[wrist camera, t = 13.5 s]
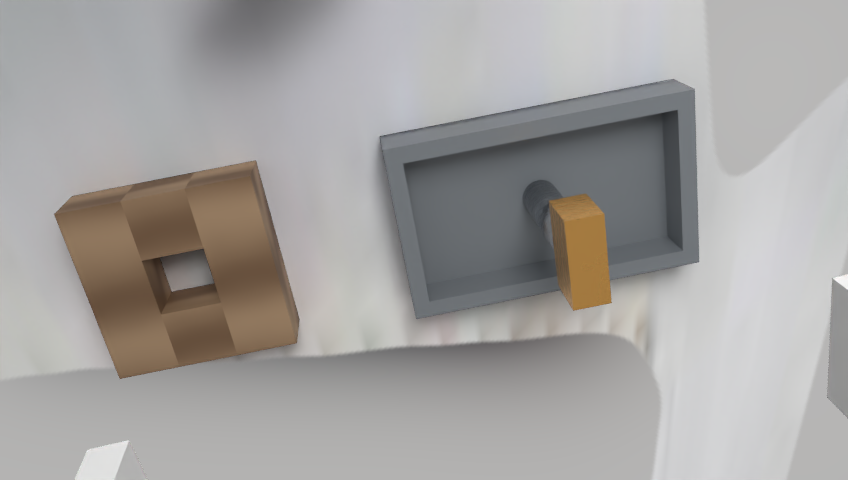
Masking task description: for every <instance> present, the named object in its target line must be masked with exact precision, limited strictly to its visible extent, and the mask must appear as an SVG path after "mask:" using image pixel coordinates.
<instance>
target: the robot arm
mask: <svg viewBox="0 0 848 480" xmlns="http://www.w3.org/2000/svg"><path fill="white" fill-rule="evenodd" d="M829 345H830V346H829V367H828V391H827V392H828V393H827V398H828V399H829V400H830V401H831V402H832V403H833V404H834V405H835V406H836V407H837V408H838V409H839V410H840V411H841V412H842V413H843V414H844V415H845V416H846V417H847V418H848V274H847V275H843V276H839V277H834V278H832V296H831V320H830V344H829ZM74 480H148V479H147V476H146V474H145V472H144V470H143V468H142V466H141V464H140V462H139V460H138V458H137V455H136V453H135V451H134V449H133V447H132V445H131V443H130V441H129V440H127V441H123V442H119V443H115V444H110V445H106V446H101V447H97V448H93V449H88V450H87V452H86V455H85V457H84V459H83V461H82V464H81V466H80V468H79V470H78V472H77V475H76V477H75V479H74Z"/></svg>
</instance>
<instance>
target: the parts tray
mask: <svg viewBox="0 0 848 480" xmlns="http://www.w3.org/2000/svg"><path fill="white" fill-rule="evenodd" d="M380 140H381V146H382V151H383V156H384V161H385V166H386V171H387V176H388V181H389V186H390V191H391V196H392V201H393V206H394V211H395V216H396V221H397V226H398V231H399V236H400V241H401V246H402V251H403V256H404V261H405V265H406V270H407V275H408V280H409V285H410V290H411V295H412V300H413V305H414V310H415V315H416V319H419V318H424V317H429V316H434V315H439V314H444V313H449V312H454V311H459V310H464V309H469V308H474V307H479V306H484V305H489V304H494V303H499V302H504V301H509V300H514V299H518V298H523V297H528V296H533V295H538V294H543V293H548V292H553V291H558V290H561V289H560V287H559V286H558V281H557V272H556V263H555V253H554V250H553V249H552V247H551V246H550V244H549V243H548V241H547V239H546V238H545V236H544V235H543V233H542V232H541V230H540V229H539V227H538V226H537V224H536V222H535V221H534V219H533V218H532V216H531V215H530V213H529V212H528V210H527V209H526V207H525V205H524V203H523V193H524V190H525V189H526V187H527V186H528V185H529V184H530V183H532V182H534V181H537V180H547V181H549V182H551V183H552V184H553V185H554V186H555V187H556V188H557V190H558V191H559V192H560V193H561V195H562V196H563V197H564V198H565V197H570V196H575V195H580V194H587V195H588V196H589V197H590V198H591V200H592V201H593V202H594V203H595V204H596V205H597V206H598V207H599V208H600V209H601V211H602V212H603V213H604V215H605V228H606V241H607V253H608V266H609V279H610V280H613V279H618V278H623V277H628V276H633V275H638V274H643V273H647V272H652V271H657V270H662V269H667V268H672V267H677V266H682V265H687V264H692V263H697V262H699V238H698V200H697V161H696V123H695V89H693V88H691V87H689V86H687V85H685V84H683V83H681V82H678V81H676V80H674V79H671V80H666V81H661V82H656V83H650V84H645V85H640V86H635V87H630V88H625V89H620V90H614V91H609V92H604V93H599V94H594V95H589V96H584V97H579V98H573V99H568V100H563V101H558V102H553V103H548V104H543V105H538V106H532V107H527V108H522V109H517V110H512V111H507V112H502V113H497V114H491V115H486V116H481V117H476V118H471V119H466V120H461V121H456V122H450V123H445V124H440V125H435V126H430V127H425V128H420V129H415V130H409V131H404V132H399V133H394V134H389V135H384V136H380Z"/></svg>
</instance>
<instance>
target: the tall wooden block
mask: <svg viewBox="0 0 848 480" xmlns="http://www.w3.org/2000/svg"><path fill="white" fill-rule="evenodd" d="M523 203H524V205H525V207H526V209H527V210H528V212H529V213H530V215H531V216H532V218H533V219H534V221H535V222H536V224H537V226H538V227H539V229H540V230H541V232H542V233H543V235H544V236H545V238H546V239H547V241H548V243H549V244H550V246H551V247H552V249H553V250H554V253H555V263H556V272H557V281H558V286H559V287H560V289H561V291H562V292H563V294H564V296H565V297H566V299H567V301H568V302H569V304H570V306H571V307H572V309H573V311H574V310H579V309H584V308H589V307H594V306H599V305H604V304H608V303H611V291H610V279H609V266H608V253H607V241H606V228H605V215H604V213H603V212H602V211H601V209H600V208H599V207H598V206H597V205H596V204H595V203H594V202H593V201H592V200H591V198H590V197H589V196H588V195H587V194H580V195H575V196H570V197H565V198H564V197H563V196H562V195H561V193H560V192H559V191H558V190H557V188H556V187H555V186H554V185H553V184H552V183H551V182H549V181H547V180H537V181H534V182H532V183H530V184H529V185H528V186H527V187H526V189H525V190H524V193H523Z"/></svg>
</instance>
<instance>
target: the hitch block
mask: <svg viewBox="0 0 848 480" xmlns="http://www.w3.org/2000/svg"><path fill="white" fill-rule="evenodd" d="M54 215H55V218H56V220H57V223H58V225H59V228H60V230H61V233H62V235H63V238H64V240H65V243H66V245H67V248H68V250H69V253H70V255H71V258H72V260H73V263H74V265H75V268H76V270H77V273H78V275H79V278H80V280H81V283H82V285H83V288H84V290H85V293H86V295H87V298H88V300H89V303H90V305H91V308H92V310H93V313H94V315H95V318H96V320H97V323H98V325H99V328H100V330H101V333H102V335H103V338H104V340H105V343H106V345H107V348H108V350H109V353H110V355H111V358H112V361H113V363H114V366H115V368H116V371H117V373H118V376H119V378H120V379H122V378H126V377H131V376H136V375H141V374H146V373H151V372H156V371H161V370H166V369H171V368H175V367H181V366H186V365H191V364H196V363H201V362H206V361H211V360H216V359H221V358H226V357H231V356H236V355H241V354H246V353H251V352H255V351H260V350H265V349H270V348H275V347H280V346H285V345H290V344H295V343H297V337H298V327H299V317H298V313H297V309H296V306H295V302H294V298H293V295H292V291H291V287H290V284H289V280H288V276H287V273H286V269H285V265H284V262H283V258H282V254H281V251H280V247H279V243H278V240H277V236H276V233H275V229H274V225H273V222H272V218H271V214H270V211H269V207H268V203H267V200H266V196H265V192H264V189H263V185H262V181H261V178H260V174H259V170H258V167H257V163H256V161H250V162H245V163H240V164H235V165H230V166H225V167H220V168H215V169H209V170H204V171H199V172H194V173H189V174H184V175H179V176H174V177H168V178H163V179H158V180H153V181H148V182H143V183H138V184H133V185H127V186H122V187H117V188H112V189H107V190H102V191H97V192H92V193H86V194H81V195H76V196H72V197H71V198H70V199H69V200H68V201H67V202H66V203H65V204H64V205H63V206H62V207H61V208H60V209H59V210H58V211H57V212H56V213H55V214H54ZM199 249H204V252H205V255H206V258H207V261H208V264H209V267H210V270H211V273H212V277H213V280H214V284H209V285H204V286H199V287H194V288H189V289H184V290H179V291H174V292H171V289H170V286H169V283H168V281H167V278H166V275H165V272H164V269H163V266H162V263H161V260H160V258H159V257H163V256H168V255H174V254H179V253H184V252H189V251H194V250H199Z"/></svg>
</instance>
